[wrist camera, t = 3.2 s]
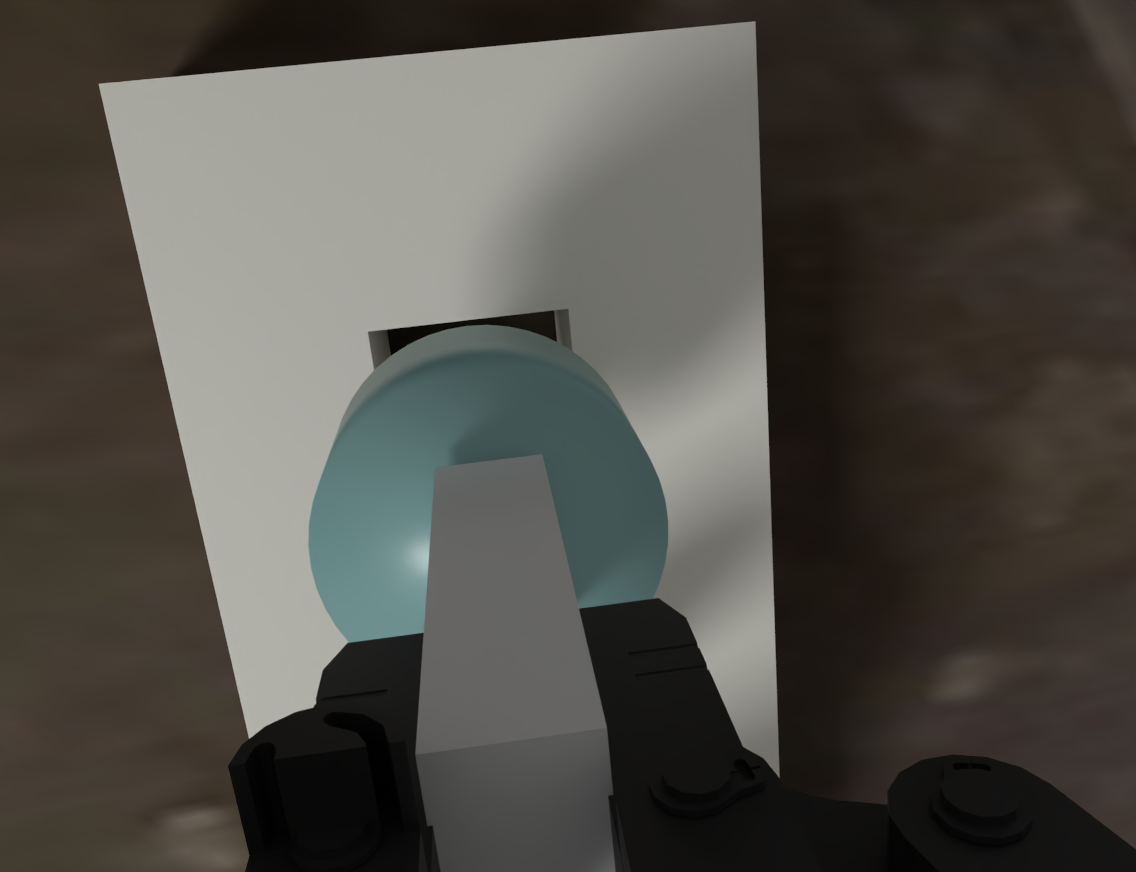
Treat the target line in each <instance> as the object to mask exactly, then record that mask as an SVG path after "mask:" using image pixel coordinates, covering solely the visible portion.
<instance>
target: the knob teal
mask: <svg viewBox="0 0 1136 872" xmlns="http://www.w3.org/2000/svg"><path fill="white" fill-rule="evenodd" d="M540 454H543V459H544V463H545V467H546V471H547V476H548V480H549V484H550V488H551V493H552V497H553V501H554V505H555V510H556V514H557V518H558V522H559V527H560V531H561V535H562V539H563V543H564V548H565V552H566V556H567V560H568V565H569V569H570V573H571V577H572V582H573V586H574V590H575V594H576V599H577V603H578V607H579V609H580V608H587V607H595V606H602V605H610V604H617V603H624V602H632V601H639V600H647V599H653V597H654V595H655V593H656V590H657V588H658V586H659V583H660V580H661V576H662V573H663V569H664V566H665V561H666V554H667V547H668V515H667V508H666V501H665V497H664V494H663V490H662V487H661V483H660V480H659V477H658V475H657V473H656V471H655V468H654V466H653V464H652V462H651V459H650V458H649V456H648V454H647V452H646V450H645V449H644V447H643V445H642V443H641V441H640V440H639V438H638V436H637V434H636V432H635V430H634V429H633V427H632V425H631V423H630V421H629V420H628V418H627V416H626V414H625V412H624V411H623V409H622V407H621V405H620V403H619V402H618V400H617V398H616V397H615V395H614V394H613V392H612V390H611V389H610V387H609V386H608V384H607V383H606V382H605V381H604V380H603V378H602V377H601V376H600V375H599V374H598V372H597V371H596V370H595V369H594V368H592V367H591V366H590V365H589V364H588V363H587V362H586V361H585V360H584V359H583V358H581V357H580V356H578V355H577V354H576V353H574V352H573V351H571V350H570V349H568V348H567V347H565V346H563V345H561V344H559V343H558V342H556V341H554V340H552V339H550V338H548V337H545V336H542V335H539V334H536V333H534V332H531V331H528V330H523V329H518V328H513V327H509V326H496V325H474V326H463V327H458V328H452V329H447V330H444V331H440V332H437V333H434V334H431V335H428V336H425V337H423V338H421V339H419V340H417V341H415V342H413V343H410V344H408V345H407V346H405V347H404V348H402V349H401V350H399V351H397V352H396V353H394V354H393V355H391V356H390V357H389V358H388V359H386V360H385V361H384V362H383V363H382V364H380V365H379V366H378V367H377V368H376V369H375V370H374V371H373V372H372V373H371V374H370V375H369V377H368V378H367V379H366V380H365V381H364V382H363V383H362V385H361V386H360V388H359V389H358V390H357V392H356V393H355V395H354V396H353V398H352V399H351V401H350V403H349V405H348V407H347V409H346V411H345V413H344V415H343V417H342V420H341V423H340V426H339V429H338V431H337V434H336V437H335V440H334V442H333V445H332V448H331V451H330V453H329V456H328V459H327V462H326V464H325V467H324V470H323V473H322V476H321V478H320V481H319V484H318V487H317V490H316V493H315V496H314V500H313V503H312V509H311V515H310V521H309V540H308V547H309V556H310V564H311V570H312V573H313V577H314V581H315V585H316V588H317V591H318V593H319V595H320V598H321V600H322V602H323V605H324V607H325V609H326V611H327V612H328V614H329V616H330V617H331V619H332V621H333V622H334V624H335V626H336V627H337V628H338V630H339V631H340V632H341V633H342V635H343V636H344V637H345V638H346V640H347V641H348V642H349V643H350V642H358V641H365V640H373V639H380V638H388V637H395V636H403V635H410V634H418V633H424V621H425V607H426V592H427V578H428V563H429V549H430V534H431V520H432V505H433V490H434V476H435V467H442V466H450V465H459V464H467V463H475V462H483V461H491V460H499V459H507V458H515V457H524V456H532V455H540Z"/></svg>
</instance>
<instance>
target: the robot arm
mask: <svg viewBox="0 0 1136 872" xmlns="http://www.w3.org/2000/svg"><path fill="white" fill-rule="evenodd" d="M228 768H229V772H230V776H231V780H232V784H233V788H234V793H235V797H236V801H237V805H238V809H239V813H240V818H241V822H242V826H243V830H244V834H245V838H246V842H247V847H248V851H249V855H250V856H249V860H248V863H247V867H246V871H245V872H1136V849H1134V848H1133V847H1132V846H1131V845H1129V844H1128V843H1127V842H1125V841H1124V840H1123V839H1121V838H1120V837H1119V836H1118V835H1116V834H1115V833H1114V832H1112V831H1111V830H1110V829H1108V828H1107V827H1106V826H1105V825H1103V824H1102V823H1101V822H1099V821H1098V820H1097V819H1095V818H1094V817H1093V816H1091V815H1090V814H1089V813H1088V812H1086V811H1085V810H1084V809H1082V808H1081V807H1080V806H1078V805H1077V804H1076V803H1075V802H1073V801H1072V800H1071V799H1069V798H1068V797H1067V796H1065V795H1064V794H1063V793H1062V792H1060V791H1059V790H1058V789H1056V788H1055V787H1054V786H1052V785H1051V784H1049V783H1048V782H1046V781H1044V780H1042V779H1041V778H1039V777H1037V776H1035V775H1034V774H1032V773H1030V772H1028V771H1027V770H1025V769H1023V768H1021V767H1018V766H1015V765H1011V764H1008V763H1005V762H1001V761H998V760H995V759H991V758H988V757H978V756H964V755H948V756H942V757H936V758H931V759H925V760H921V761H919V762H918V763H916V764H914V765H912V766H910V767H909V768H907V769H905V770H903V771H901V772H900V773H899V774H898V775H897V777H896V779H895V780H894V782H893V783H892V785H891V786H890V788H889V790H888V791H887V805H884V804H872V803H860V802H848V801H837V800H831V799H825V798H819V797H813V796H809V795H806V794H803V793H800V792H797V791H794V790H791V789H789V788H787V787H785V786H783V785H782V783H781V781H780V779H779V777H778V775H777V774H776V773H775V772H774V771H773V769H772V768H771V767H770V766H769V764H768V763H767V762H766V761H765V759H764V758H762V757H760V756H759V755H757V754H755V753H753V752H751V751H750V750H748V749H746V748H744V747H743V746H742V743H741V741H740V739H739V736H738V734H737V732H736V730H735V727H734V725H733V723H732V721H731V718H730V716H729V714H728V712H727V709H726V707H725V705H724V702H723V700H722V698H721V696H720V693H719V691H718V689H717V687H716V684H715V682H714V680H713V678H712V675H711V673H710V671H709V670H707V664H706V662H705V659H704V657H703V655H702V653H701V650H700V648H698V645H697V641H696V639H695V637H694V634H693V632H692V630H691V628H690V625H689V623H688V621H687V619H686V617H685V616H683V615H682V614H680V613H679V612H678V611H676V610H675V609H673V608H672V607H671V606H669V605H668V604H666V603H665V602H663V601H662V600H661V599H659V598H654V599H647V600H639V601H632V602H624V603H617V604H610V605H602V606H595V607H587V608H580V609H579V607H578V603H577V599H576V594H575V590H574V586H573V582H572V577H571V573H570V569H569V565H568V560H567V556H566V552H565V548H564V543H563V539H562V535H561V531H560V527H559V522H558V518H557V514H556V510H555V505H554V501H553V497H552V493H551V488H550V484H549V480H548V476H547V471H546V467H545V463H544V459H543V454H540V455H532V456H524V457H515V458H507V459H499V460H491V461H483V462H475V463H467V464H459V465H450V466H442V467H435V476H434V490H433V505H432V520H431V534H430V549H429V563H428V578H427V592H426V607H425V621H424V633H418V634H410V635H403V636H395V637H388V638H380V639H373V640H365V641H358V642H350V643H347V644H346V645H345V646H344V647H343V648H342V649H341V651H340V652H339V653H338V654H337V655H336V656H335V657H334V658H333V659H332V660H331V662H330V663H329V664H328V665H327V666H326V667H325V668H324V669H323V671H322V675H321V679H320V684H319V688H318V692H317V696H316V704H315V705H314V708H310V709H306V710H302V711H298V712H294V713H292V714H290V715H288V716H286V717H284V718H282V719H280V720H277V721H275V722H273V723H271V724H269V725H267V726H265V727H264V728H262V729H261V730H260V731H259V732H257V733H256V734H255V735H254V736H252V737H251V738H250V739H249V740H247V741H246V742H245V743H244V744H242V745H241V747H240V748H239V750H238V752H237V753H236V755H235V756H234V758H233V759H232V761H231V762H230V764H229V766H228Z"/></svg>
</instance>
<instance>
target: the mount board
mask: <svg viewBox="0 0 1136 872" xmlns="http://www.w3.org/2000/svg"><path fill="white" fill-rule="evenodd" d="M99 88H100V92H101V96H102V101H103V105H104V110H105V114H106V118H107V123H108V127H109V131H110V136H111V140H112V144H113V149H114V153H115V157H116V162H117V166H118V170H119V175H120V179H121V183H122V188H123V192H124V196H125V201H126V205H127V209H128V214H129V218H130V222H131V227H132V231H133V236H134V240H135V244H136V249H137V253H138V257H139V262H140V266H141V270H142V275H143V279H144V283H145V288H146V292H147V296H148V301H149V305H150V309H151V314H152V318H153V322H154V327H155V331H156V335H157V340H158V344H159V348H160V353H161V357H162V362H163V366H164V370H165V375H166V379H167V383H168V388H169V392H170V396H171V401H172V405H173V409H174V414H175V418H176V422H177V427H178V431H179V435H180V440H181V444H182V448H183V453H184V457H185V461H186V466H187V470H188V474H189V479H190V483H191V487H192V492H193V496H194V501H195V505H196V509H197V514H198V518H199V522H200V527H201V531H202V535H203V540H204V544H205V548H206V553H207V557H208V561H209V566H210V570H211V574H212V579H213V583H214V587H215V592H216V596H217V600H218V605H219V609H220V613H221V618H222V622H223V627H224V631H225V635H226V640H227V644H228V648H229V653H230V657H231V661H232V666H233V670H234V674H235V679H236V683H237V687H238V692H239V696H240V700H241V705H242V709H243V713H244V718H245V722H246V726H247V731H248V735H249V739H250V738H251V737H252V736H254V735H255V734H256V733H257V732H259V731H260V730H261V729H262V728H264V727H265V726H267V725H269V724H271V723H273V722H275V721H277V720H280V719H282V718H284V717H286V716H288V715H290V714H292V713H294V712H298V711H302V710H306V709H310V708H314V705H315V704H316V696H317V692H318V688H319V684H320V679H321V675H322V671H323V669H324V668H325V667H326V666H327V665H328V664H329V663H330V662H331V660H332V659H333V658H334V657H335V656H336V655H337V654H338V653H339V652H340V651H341V649H342V648H343V647H344V646H345V645H346V644H347V643H349V642H348V641H347V640H346V638H345V637H344V636H343V635H342V633H341V632H340V631H339V630H338V628H337V627H336V626H335V624H334V622H333V621H332V619H331V617H330V616H329V614H328V612H327V611H326V609H325V607H324V605H323V602H322V600H321V598H320V595H319V593H318V591H317V588H316V585H315V581H314V577H313V573H312V570H311V564H310V556H309V547H308V540H309V521H310V515H311V509H312V503H313V500H314V496H315V493H316V490H317V487H318V484H319V481H320V478H321V476H322V473H323V470H324V467H325V464H326V462H327V459H328V456H329V453H330V451H331V448H332V445H333V442H334V440H335V437H336V434H337V431H338V429H339V426H340V423H341V420H342V417H343V415H344V413H345V411H346V409H347V407H348V405H349V403H350V401H351V399H352V398H353V396H354V395H355V393H356V392H357V390H358V389H359V388H360V386H361V385H362V383H363V382H364V381H365V380H366V379H367V378H368V377H369V375H370V374H371V373H372V372H373V371H374V370H375V369H376V368H377V367H378V366H379V365H380V364H382V363H383V362H384V361H385V360H386V359H388V358H389V357H390V356H391V352H390V346H389V339H388V333H387V329H395V328H404V327H413V326H421V325H430V324H439V323H448V322H456V321H465V320H474V319H483V318H491V317H500V316H509V315H517V314H526V313H535V312H544V311H552V310H554V315H555V325H556V335H557V342H558V343H559V344H561V345H563V346H565V347H567V348H568V349H570V350H571V351H573V352H574V353H576V354H577V355H578V356H580V357H581V358H583V359H584V360H585V361H586V362H587V363H588V364H589V365H590V366H591V367H592V368H594V369H595V370H596V371H597V372H598V374H599V375H600V376H601V377H602V378H603V380H604V381H605V382H606V383H607V384H608V386H609V387H610V389H611V390H612V392H613V394H614V395H615V397H616V398H617V400H618V402H619V403H620V405H621V407H622V409H623V411H624V412H625V414H626V416H627V418H628V420H629V421H630V423H631V425H632V427H633V429H634V430H635V432H636V434H637V436H638V438H639V440H640V441H641V443H642V445H643V447H644V449H645V450H646V452H647V454H648V456H649V458H650V459H651V462H652V464H653V466H654V468H655V471H656V473H657V475H658V477H659V480H660V483H661V487H662V490H663V494H664V497H665V501H666V508H667V515H668V547H667V554H666V561H665V566H664V569H663V573H662V576H661V580H660V583H659V586H658V588H657V590H656V593H655V595H654V597H653V599H654V598H659V599H661V600H662V601H663V602H665V603H666V604H668V605H669V606H671V607H672V608H673V609H675V610H676V611H678V612H679V613H680V614H682V615H683V616H685V617H686V619H687V621H688V623H689V625H690V628H691V630H692V632H693V634H694V637H695V639H696V641H697V645H698V648H700V650H701V653H702V655H703V657H704V659H705V662H706V664H707V670H709V671H710V673H711V675H712V678H713V680H714V682H715V684H716V687H717V689H718V691H719V693H720V696H721V698H722V700H723V702H724V705H725V707H726V709H727V712H728V714H729V716H730V718H731V721H732V723H733V725H734V727H735V730H736V732H737V734H738V736H739V739H740V741H741V743H742V746H743V747H744V748H746V749H748V750H750V751H751V752H753V753H755V754H757V755H759V756H760V757H762V758H764V759H765V761H766V762H767V763H768V764H769V766H770V767H771V768H772V769H773V771H774V772H775V773H776V774H777V775H778V777H779V779H780V776H779V745H778V713H777V682H776V651H775V619H774V588H773V557H772V526H771V494H770V463H769V432H768V401H767V369H766V338H765V307H764V275H763V244H762V213H761V182H760V150H759V119H758V88H757V57H756V25H755V21H753V22H743V23H732V24H722V25H711V26H701V27H690V28H680V29H669V30H659V31H649V32H638V33H628V34H617V35H607V36H596V37H586V38H575V39H565V40H554V41H544V42H533V43H523V44H512V45H502V46H492V47H481V48H471V49H460V50H450V51H439V52H429V53H418V54H408V55H397V56H387V57H376V58H366V59H355V60H345V61H335V62H324V63H314V64H303V65H293V66H282V67H272V68H261V69H251V70H240V71H230V72H219V73H209V74H199V75H188V76H178V77H167V78H157V79H146V80H136V81H125V82H115V83H104V84H99Z"/></svg>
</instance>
